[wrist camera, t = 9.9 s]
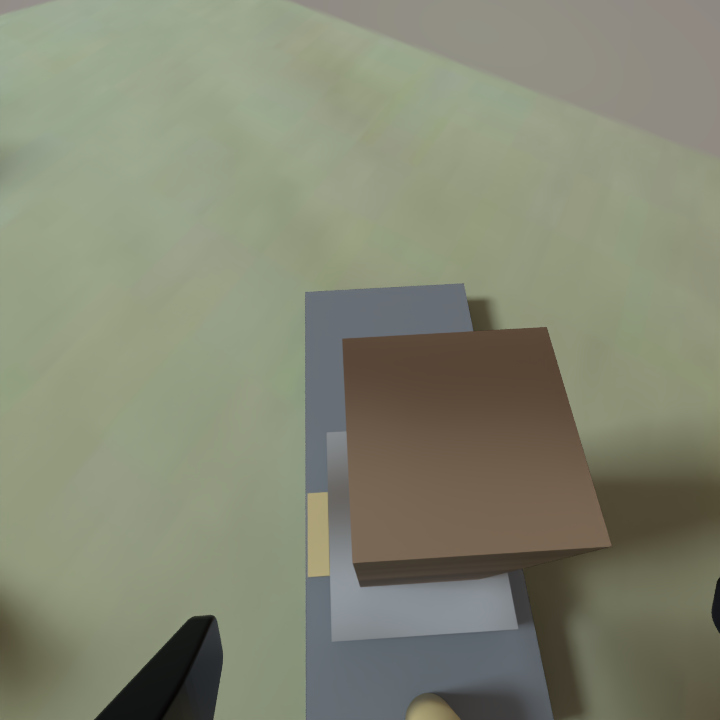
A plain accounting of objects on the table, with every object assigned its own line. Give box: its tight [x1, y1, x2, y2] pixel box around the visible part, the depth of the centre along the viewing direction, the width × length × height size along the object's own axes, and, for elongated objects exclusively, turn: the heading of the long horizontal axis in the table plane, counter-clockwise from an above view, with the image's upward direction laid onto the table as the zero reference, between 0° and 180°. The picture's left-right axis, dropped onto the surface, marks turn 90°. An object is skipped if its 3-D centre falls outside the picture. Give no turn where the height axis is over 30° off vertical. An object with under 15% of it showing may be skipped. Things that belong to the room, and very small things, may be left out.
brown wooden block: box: [327, 327, 612, 642], centre depth 13 cm, size 7×6×11 cm
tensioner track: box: [305, 283, 554, 720], centre depth 18 cm, size 18×8×4 cm, turn 3°
